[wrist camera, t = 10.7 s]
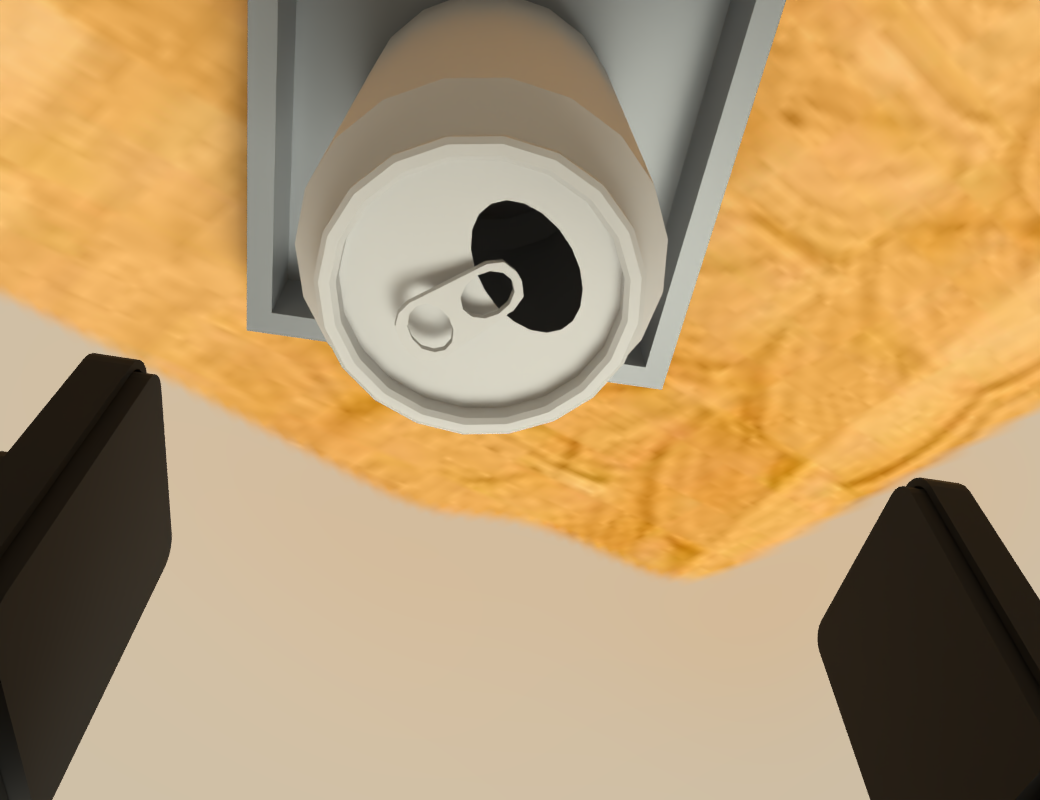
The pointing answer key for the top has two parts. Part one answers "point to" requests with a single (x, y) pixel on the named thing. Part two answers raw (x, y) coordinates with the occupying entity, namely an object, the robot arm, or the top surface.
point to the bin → (633, 74)
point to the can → (483, 223)
